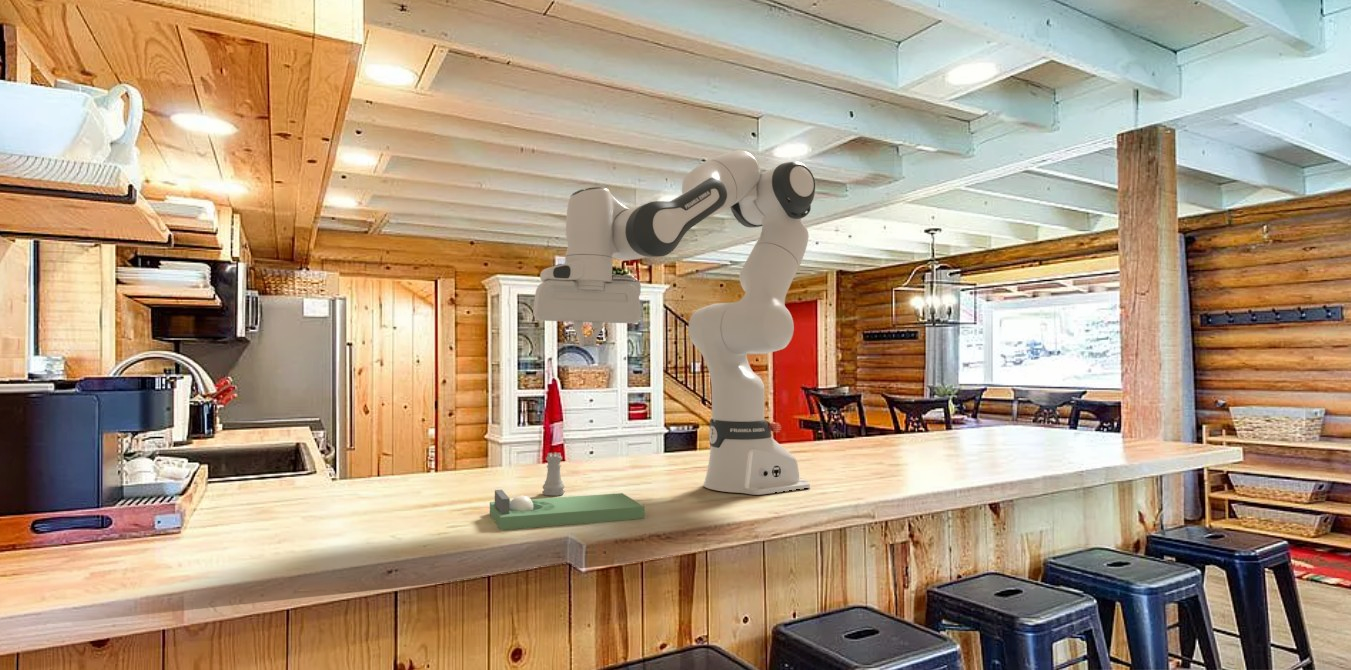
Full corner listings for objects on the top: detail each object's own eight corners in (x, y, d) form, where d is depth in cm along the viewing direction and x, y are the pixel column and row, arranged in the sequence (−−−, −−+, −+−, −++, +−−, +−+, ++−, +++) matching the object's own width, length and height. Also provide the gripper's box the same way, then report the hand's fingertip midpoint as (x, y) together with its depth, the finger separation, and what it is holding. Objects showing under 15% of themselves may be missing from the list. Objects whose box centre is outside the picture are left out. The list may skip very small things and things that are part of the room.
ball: (535, 501, 122) (517, 488, 121) (540, 506, 118) (521, 493, 117) (521, 521, 121) (502, 508, 120) (525, 527, 117) (506, 513, 116)
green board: (622, 504, 132) (622, 480, 132) (644, 518, 121) (644, 492, 121) (489, 513, 123) (490, 488, 123) (500, 530, 112) (500, 501, 112)
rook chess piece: (560, 497, 138) (561, 455, 138) (538, 495, 138) (539, 454, 139) (567, 492, 142) (568, 452, 142) (546, 491, 143) (547, 451, 143)
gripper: (635, 277, 141) (634, 347, 141) (532, 271, 133) (530, 345, 133) (646, 274, 135) (645, 347, 135) (538, 268, 128) (537, 345, 127)
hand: (587, 346), depth 134 cm, fingers closed
